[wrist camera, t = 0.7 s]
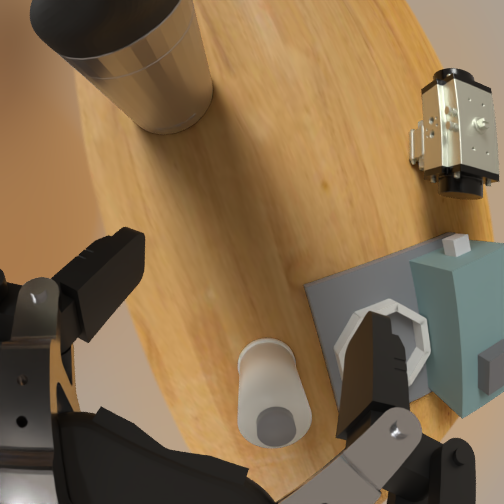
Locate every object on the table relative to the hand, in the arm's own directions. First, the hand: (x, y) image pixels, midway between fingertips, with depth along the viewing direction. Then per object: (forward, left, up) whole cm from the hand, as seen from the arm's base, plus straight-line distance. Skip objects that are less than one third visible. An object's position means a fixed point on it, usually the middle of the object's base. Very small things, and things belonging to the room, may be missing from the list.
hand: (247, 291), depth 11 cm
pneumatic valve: (-5, +21, -21) cm, 30 cm away
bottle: (+12, -2, -21) cm, 24 cm away
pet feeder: (+14, +14, -21) cm, 29 cm away
